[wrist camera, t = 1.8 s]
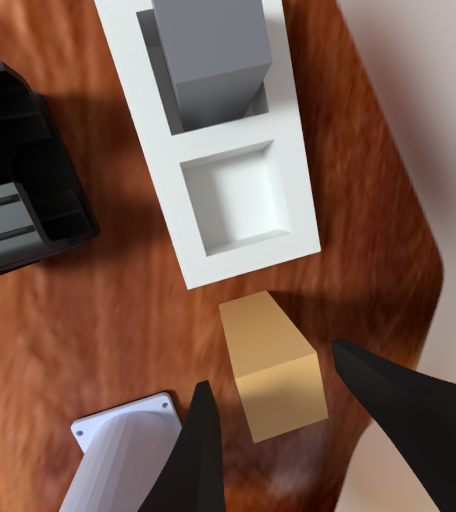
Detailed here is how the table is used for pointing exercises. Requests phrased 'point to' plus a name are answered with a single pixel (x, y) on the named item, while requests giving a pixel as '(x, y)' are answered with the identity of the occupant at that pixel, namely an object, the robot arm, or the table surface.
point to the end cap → (36, 181)
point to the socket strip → (217, 129)
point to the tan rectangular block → (272, 367)
